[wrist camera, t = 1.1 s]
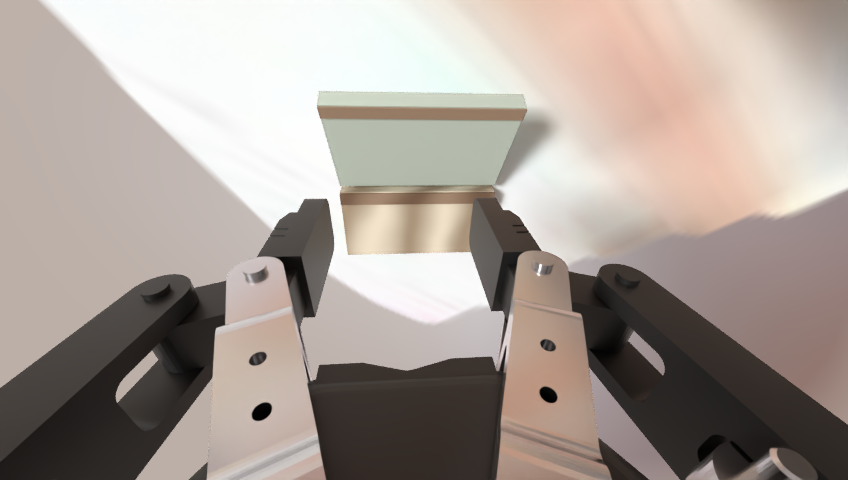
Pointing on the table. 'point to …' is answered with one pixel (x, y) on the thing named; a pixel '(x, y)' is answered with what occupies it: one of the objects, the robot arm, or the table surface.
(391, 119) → the sage plank
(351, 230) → the ash board
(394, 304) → the table surface
